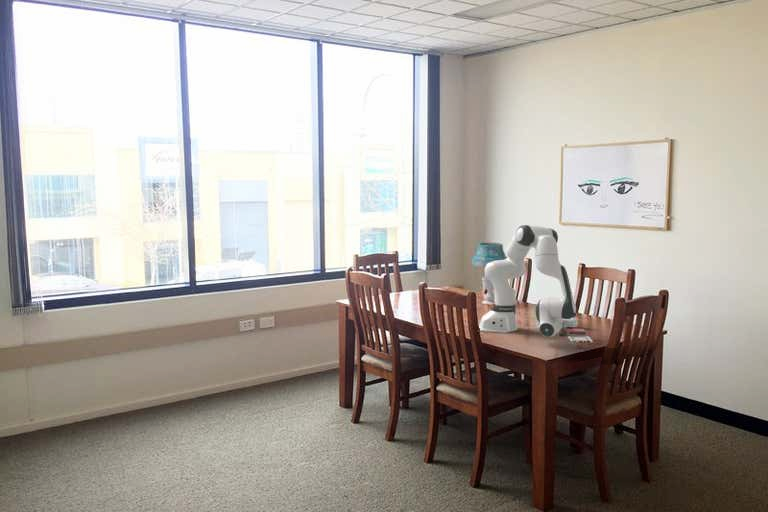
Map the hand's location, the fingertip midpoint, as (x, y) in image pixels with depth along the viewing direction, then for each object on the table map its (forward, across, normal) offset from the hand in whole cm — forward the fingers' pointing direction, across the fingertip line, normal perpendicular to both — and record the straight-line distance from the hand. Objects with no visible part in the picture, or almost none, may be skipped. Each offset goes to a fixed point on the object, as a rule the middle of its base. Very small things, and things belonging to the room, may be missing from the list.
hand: (559, 317), depth 327 cm
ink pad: (+21, -5, +12) cm, 25 cm away
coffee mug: (+32, +1, +12) cm, 34 cm away
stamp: (+12, 0, +12) cm, 17 cm away
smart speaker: (+41, +14, +12) cm, 45 cm away
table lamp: (+75, +61, +10) cm, 98 cm away
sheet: (+8, -9, +12) cm, 17 cm away
